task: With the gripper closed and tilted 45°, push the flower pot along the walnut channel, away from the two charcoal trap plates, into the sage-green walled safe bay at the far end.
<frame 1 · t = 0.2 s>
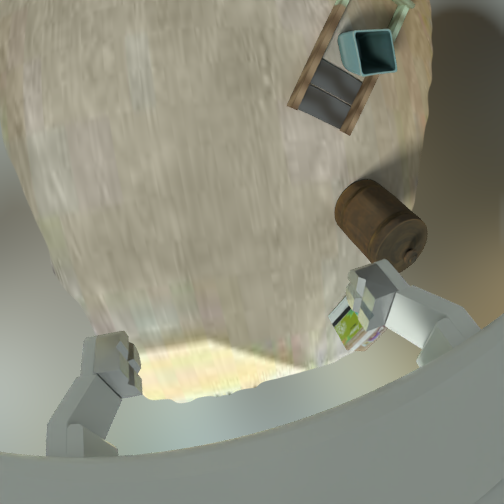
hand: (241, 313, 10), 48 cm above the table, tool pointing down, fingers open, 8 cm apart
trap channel: (350, 49, 47), on the table
wooden container: (359, 205, 72), on the table
flower pot: (349, 49, 48), resting in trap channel
tea box: (350, 301, 94), on the table
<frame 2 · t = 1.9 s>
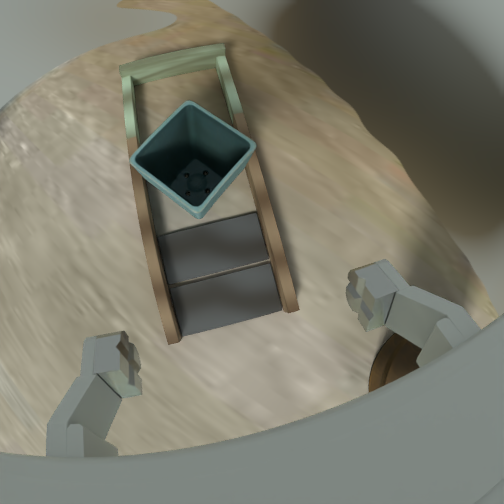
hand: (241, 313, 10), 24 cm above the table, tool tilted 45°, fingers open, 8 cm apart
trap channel: (197, 183, 35), on the table
wooden container: (411, 373, 36), on the table
flower pot: (197, 183, 35), resting in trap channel
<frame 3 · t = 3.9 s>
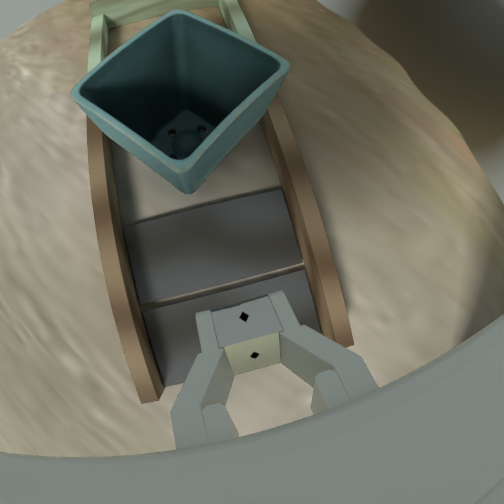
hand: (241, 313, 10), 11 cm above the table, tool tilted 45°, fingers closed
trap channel: (188, 144, 22), on the table
flower pot: (188, 145, 22), resting in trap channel
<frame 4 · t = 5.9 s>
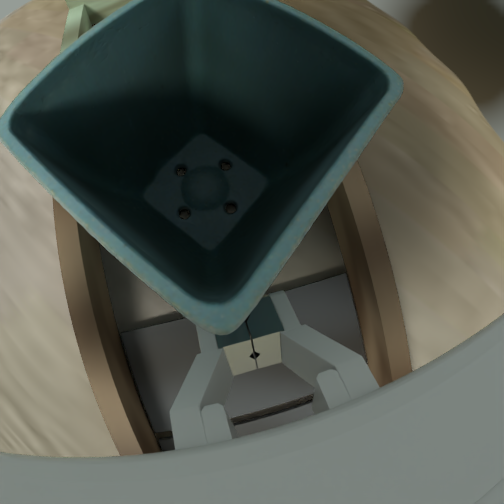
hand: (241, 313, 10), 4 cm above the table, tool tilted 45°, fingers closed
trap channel: (207, 201, 15), on the table
flower pot: (205, 190, 15), resting in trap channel, touching gripper
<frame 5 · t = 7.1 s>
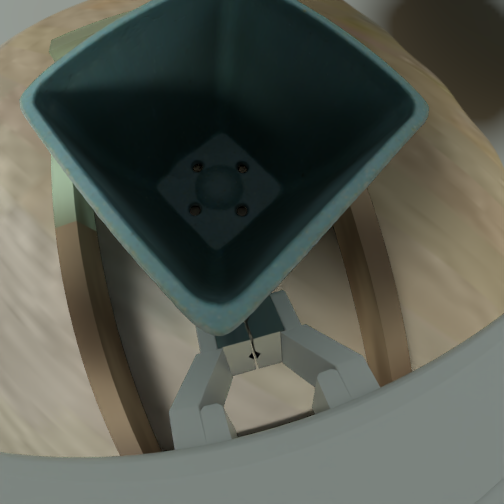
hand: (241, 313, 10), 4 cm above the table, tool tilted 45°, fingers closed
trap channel: (243, 338, 14), on the table
flower pot: (219, 189, 15), resting in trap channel, touching gripper
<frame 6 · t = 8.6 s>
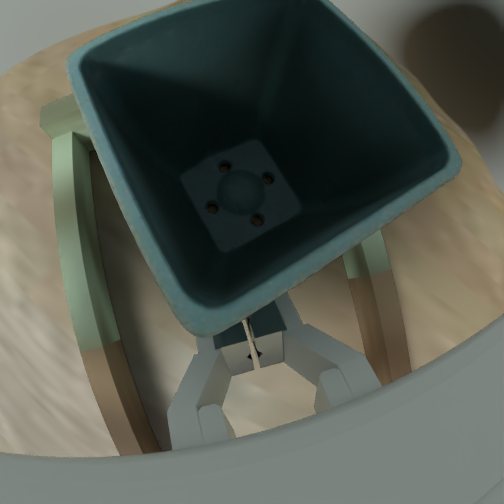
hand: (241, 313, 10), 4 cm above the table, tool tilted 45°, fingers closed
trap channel: (271, 434, 14), on the table
flower pot: (240, 194, 15), resting in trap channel, touching gripper
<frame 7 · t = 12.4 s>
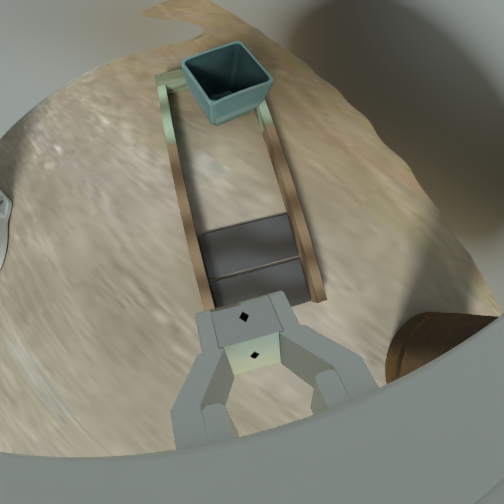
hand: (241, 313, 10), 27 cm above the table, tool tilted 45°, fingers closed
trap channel: (233, 186, 39), on the table
wooden container: (422, 358, 39), on the table
flower pot: (224, 108, 41), resting in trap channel
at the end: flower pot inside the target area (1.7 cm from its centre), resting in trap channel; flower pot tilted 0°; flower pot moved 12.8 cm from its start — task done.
